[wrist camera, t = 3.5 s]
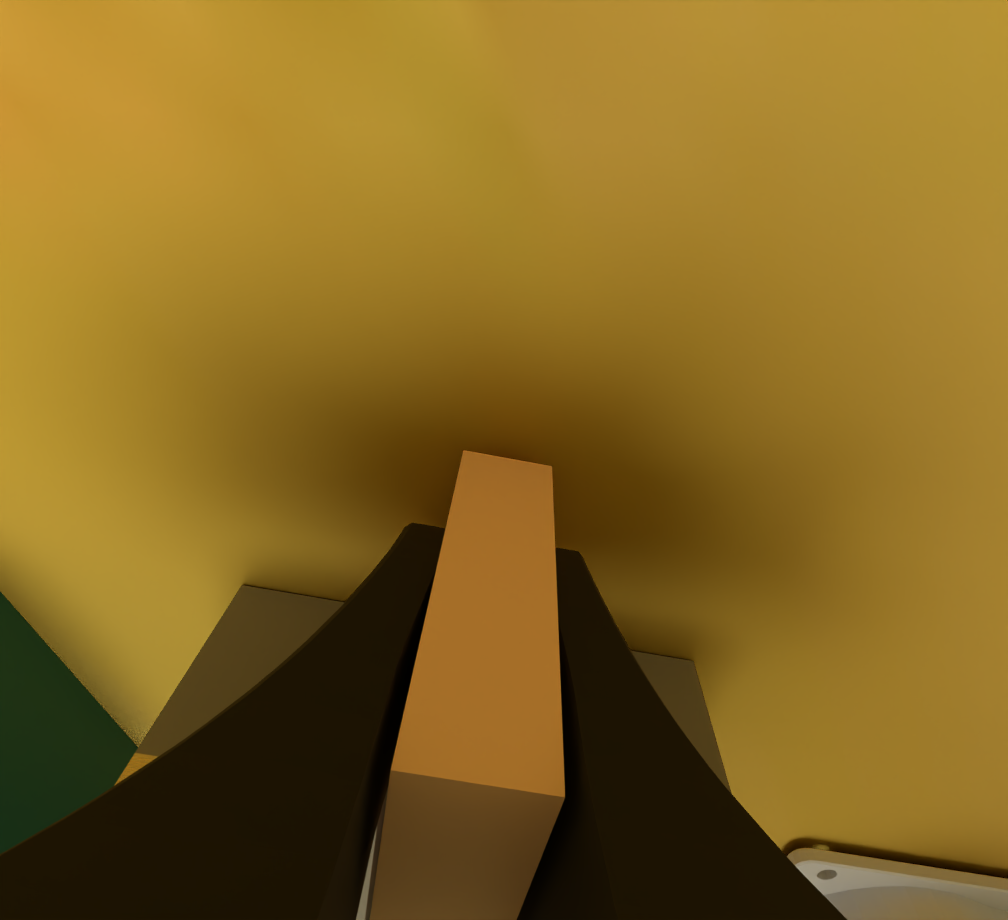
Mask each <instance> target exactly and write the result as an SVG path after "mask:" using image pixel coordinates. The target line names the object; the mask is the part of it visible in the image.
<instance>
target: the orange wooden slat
mask: <svg viewBox="0 0 1008 920" xmlns="http://www.w3.org/2000/svg"><path fill="white" fill-rule="evenodd" d="M564 799H565V781H564V756H563V731H562V706H561V680H560V655H559V630H558V604H557V579H556V554H555V528H554V503H553V478H552V466H548V465H543V464H537V463H532V462H526V461H521V460H515V459H510V458H504V457H499V456H493V455H488V454H482V453H477V452H471V451H466V450H463V454H462V459H461V463H460V467H459V472H458V476H457V481H456V485H455V489H454V494H453V498H452V503H451V507H450V511H449V516H448V520H447V525H446V529H445V533H444V538H443V542H442V547H441V551H440V555H439V560H438V564H437V569H436V573H435V577H434V582H433V586H432V591H431V595H430V599H429V604H428V608H427V613H426V617H425V621H424V626H423V630H422V634H421V639H420V643H419V648H418V652H417V656H416V661H415V665H414V670H413V674H412V678H411V683H410V687H409V692H408V696H407V700H406V705H405V709H404V714H403V718H402V722H401V727H400V731H399V736H398V740H397V744H396V749H395V753H394V758H393V762H392V766H391V771H390V778H389V786H388V793H387V800H386V807H385V814H384V821H383V828H382V836H381V843H380V850H379V857H378V864H377V871H376V878H375V886H374V893H373V900H372V907H371V914H370V920H517V918H518V915H519V912H520V910H521V907H522V905H523V902H524V900H525V897H526V895H527V892H528V890H529V887H530V885H531V882H532V880H533V877H534V875H535V872H536V870H537V867H538V865H539V862H540V859H541V857H542V854H543V852H544V849H545V847H546V844H547V842H548V839H549V837H550V834H551V832H552V829H553V827H554V824H555V822H556V819H557V817H558V814H559V812H560V809H561V807H562V804H563V801H564Z"/></svg>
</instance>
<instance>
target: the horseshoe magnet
mask: <svg viewBox="0 0 1008 920" xmlns="http://www.w3.org/2000/svg"><path fill="white" fill-rule="evenodd" d="M344 603H345V602H339V601H333V600H327V599H322V598H316V597H310V596H304V595H298V594H292V593H286V592H280V591H274V590H268V589H262V588H256V587H250V586H244V585H242V586H241V588H240V589H239V591H238V592H237V594H236V595H235V597H234V598H233V600H232V602H231V603H230V605H229V606H228V608H227V609H226V611H225V613H224V614H223V616H222V617H221V619H220V620H219V622H218V624H217V625H216V627H215V628H214V630H213V631H212V633H211V635H210V636H209V638H208V639H207V641H206V642H205V644H204V646H203V647H202V649H201V650H200V652H199V653H198V655H197V657H196V658H195V660H194V661H193V663H192V664H191V666H190V667H189V669H188V671H187V672H186V674H185V675H184V677H183V678H182V680H181V682H180V683H179V685H178V686H177V688H176V689H175V691H174V693H173V694H172V696H171V697H170V699H169V700H168V702H167V704H166V705H165V707H164V708H163V710H162V711H161V713H160V715H159V716H158V718H157V719H156V721H155V722H154V724H153V725H152V727H151V729H150V730H149V732H148V733H147V735H146V736H145V738H144V740H143V741H142V743H141V744H140V746H139V747H138V749H137V751H136V752H135V754H134V755H133V757H132V758H131V760H130V762H129V763H128V765H127V766H126V768H125V769H124V771H123V773H122V774H121V776H120V777H119V779H118V780H117V782H116V784H117V783H119V782H120V781H122V780H124V779H125V778H127V777H128V776H130V775H131V774H133V773H134V772H136V771H137V770H139V769H140V768H142V767H143V766H145V765H146V764H148V763H149V762H151V761H152V760H154V759H155V758H157V757H158V756H160V755H161V754H163V753H165V752H166V751H168V750H169V749H171V748H172V747H174V746H175V745H176V744H178V743H179V742H181V741H182V740H184V739H185V738H186V737H188V736H189V735H191V734H192V733H193V732H195V731H196V730H197V729H199V728H200V727H202V726H203V725H204V724H206V723H207V722H208V721H210V720H211V719H212V718H214V717H215V716H216V715H218V714H219V713H220V712H221V711H223V710H224V709H225V708H227V707H228V706H229V705H231V704H232V703H233V702H234V701H236V700H237V699H238V698H240V697H241V696H242V695H244V694H245V693H246V692H248V691H249V690H250V689H251V688H252V687H254V686H255V685H256V684H257V683H259V682H260V681H261V680H262V679H263V678H264V677H266V676H267V675H268V674H269V673H270V672H272V671H273V670H274V669H275V668H276V667H278V666H279V665H280V664H281V663H282V662H283V661H284V660H286V659H287V658H288V657H289V656H290V655H291V654H292V653H293V652H295V651H296V650H297V649H298V648H299V647H300V646H301V645H302V644H303V643H304V642H305V641H307V640H308V639H309V638H310V637H311V636H312V635H313V634H314V633H315V632H316V631H317V630H318V629H319V628H320V627H321V626H322V625H323V624H324V623H325V622H326V621H327V620H328V619H329V618H330V617H331V616H332V615H333V614H334V613H335V612H336V611H337V610H338V609H339V608H340V607H341V606H342V605H343V604H344ZM631 652H632V653H633V655H634V657H635V659H636V660H637V662H638V664H639V665H640V667H641V669H642V670H643V672H644V673H645V675H646V677H647V678H648V680H649V681H650V683H651V685H652V686H653V688H654V689H655V691H656V692H657V694H658V695H659V697H660V698H661V700H662V702H663V703H664V705H665V706H666V708H667V709H668V711H669V712H670V713H671V715H672V716H673V718H674V719H675V721H676V722H677V724H678V725H679V726H680V728H681V729H682V731H683V732H684V733H685V735H686V736H687V738H688V739H689V740H690V742H691V743H692V744H693V746H694V747H695V748H696V750H697V751H698V752H699V754H700V755H701V756H702V758H703V759H704V760H705V762H706V763H707V764H708V766H709V767H710V768H711V769H712V771H713V772H714V773H715V774H716V776H717V777H718V778H719V779H720V781H721V782H722V783H723V784H724V786H725V787H726V788H727V789H728V790H729V792H730V793H731V790H730V787H729V783H728V780H727V776H726V773H725V769H724V766H723V763H722V759H721V756H720V752H719V749H718V745H717V742H716V738H715V735H714V731H713V728H712V724H711V721H710V717H709V714H708V710H707V707H706V703H705V700H704V696H703V693H702V689H701V686H700V682H699V679H698V675H697V672H696V668H695V665H694V661H690V660H684V659H678V658H672V657H666V656H660V655H654V654H648V653H642V652H636V651H631ZM116 784H115V785H116ZM388 786H389V785H388ZM387 793H388V789H387V792H386V795H385V799H384V802H383V805H382V809H381V813H380V816H379V820H378V824H377V828H376V831H375V835H374V840H373V844H372V849H371V853H370V858H369V863H368V867H367V872H366V876H365V881H364V885H363V890H362V894H361V899H360V904H359V908H358V913H357V917H356V920H370V914H371V907H372V900H373V893H374V886H375V878H376V871H377V864H378V857H379V850H380V843H381V836H382V828H383V821H384V814H385V807H386V800H387Z"/></svg>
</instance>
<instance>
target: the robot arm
mask: <svg viewBox="0 0 1008 920" xmlns="http://www.w3.org/2000/svg"><path fill="white" fill-rule="evenodd" d="M444 533H445V528H440V527H434V526H428V525H422V524H417V523H411V524H409V525H408V526H406V527H405V528H404V529H403V531H402V533H401V534H400V536H399V537H398V539H397V540H396V542H395V543H394V544H393V546H392V547H391V549H390V550H389V551H388V553H387V554H386V555H385V556H384V558H383V559H382V560H381V561H380V563H379V564H378V565H377V566H376V568H375V569H374V570H373V571H372V572H371V574H370V575H369V576H368V577H367V578H366V579H365V580H364V581H363V583H362V584H361V585H360V586H359V587H358V588H357V589H356V590H355V592H354V593H353V594H352V595H351V596H350V597H349V598H348V599H347V601H346V602H345V603H344V604H343V605H342V606H341V607H340V608H339V609H338V610H337V611H336V612H335V613H334V614H333V615H332V616H331V617H330V618H329V619H328V620H327V621H326V622H325V623H324V624H323V625H322V626H321V627H320V628H319V629H318V630H317V631H316V632H315V633H314V634H313V635H312V636H311V637H310V638H309V639H308V640H307V641H305V642H304V643H303V644H302V645H301V646H300V647H299V648H298V649H297V650H296V651H295V652H293V653H292V654H291V655H290V656H289V657H288V658H287V659H286V660H284V661H283V662H282V663H281V664H280V665H279V666H278V667H276V668H275V669H274V670H273V671H272V672H270V673H269V674H268V675H267V676H266V677H264V678H263V679H262V680H261V681H260V682H259V683H257V684H256V685H255V686H254V687H252V688H251V689H250V690H249V691H248V692H246V693H245V694H244V695H242V696H241V697H240V698H238V699H237V700H236V701H234V702H233V703H232V704H231V705H229V706H228V707H227V708H225V709H224V710H223V711H221V712H220V713H219V714H218V715H216V716H215V717H214V718H212V719H211V720H210V721H208V722H207V723H206V724H204V725H203V726H202V727H200V728H199V729H197V730H196V731H195V732H193V733H192V734H191V735H189V736H188V737H186V738H185V739H184V740H182V741H181V742H179V743H178V744H176V745H175V746H174V747H172V748H171V749H169V750H168V751H166V752H165V753H163V754H161V755H160V756H158V757H157V758H155V759H154V760H152V761H151V762H149V763H148V764H146V765H145V766H143V767H142V768H140V769H139V770H137V771H136V772H134V773H133V774H131V775H130V776H128V777H127V778H125V779H124V780H122V781H120V782H119V783H117V784H116V785H114V786H113V787H111V788H110V789H108V790H107V791H105V792H104V793H102V794H101V795H99V796H98V797H96V798H95V799H93V800H91V801H90V802H88V803H86V804H85V805H83V806H82V807H80V808H78V809H77V810H75V811H73V812H72V813H70V814H69V815H67V816H65V817H63V818H62V819H60V820H58V821H56V822H55V823H53V824H51V825H50V826H48V827H46V828H44V829H43V830H41V831H39V832H37V833H36V834H34V835H32V836H31V837H29V838H27V839H25V840H24V841H22V842H20V843H18V844H17V845H15V846H13V847H12V848H10V849H8V850H6V851H5V852H3V853H1V854H0V920H356V917H357V913H358V908H359V904H360V899H361V894H362V890H363V885H364V881H365V876H366V872H367V867H368V863H369V858H370V853H371V849H372V844H373V840H374V835H375V831H376V828H377V824H378V820H379V816H380V813H381V809H382V805H383V802H384V799H385V795H386V792H387V789H388V785H389V778H390V771H391V766H392V762H393V758H394V753H395V749H396V744H397V740H398V736H399V731H400V727H401V722H402V718H403V714H404V709H405V705H406V700H407V696H408V692H409V687H410V683H411V678H412V674H413V670H414V665H415V661H416V656H417V652H418V648H419V643H420V639H421V634H422V630H423V626H424V621H425V617H426V613H427V608H428V604H429V599H430V595H431V591H432V586H433V582H434V577H435V573H436V569H437V564H438V560H439V555H440V551H441V547H442V542H443V538H444ZM555 554H556V579H557V604H558V630H559V655H560V680H561V706H562V731H563V756H564V781H565V799H564V801H563V804H562V807H561V809H560V812H559V814H558V817H557V819H556V822H555V824H554V827H553V829H552V832H551V834H550V837H549V839H548V842H547V844H546V847H545V849H544V852H543V854H542V857H541V859H540V862H539V865H538V867H537V870H536V872H535V875H534V877H533V880H532V882H531V885H530V887H529V890H528V892H527V895H526V897H525V900H524V902H523V905H522V907H521V910H520V912H519V915H518V918H517V920H1008V879H1007V878H1000V877H994V876H987V875H981V874H975V873H968V872H962V871H955V870H949V869H942V868H936V867H930V866H923V865H917V864H910V863H904V862H897V861H891V860H885V859H878V858H872V857H865V856H859V855H852V854H846V853H840V852H833V851H827V850H820V849H814V848H800V849H796V850H794V851H792V852H791V853H789V854H788V856H786V855H785V854H784V853H783V852H782V851H781V850H780V849H779V848H778V847H777V845H776V844H775V843H774V842H773V841H772V840H771V839H770V837H769V836H768V835H767V834H766V833H765V832H764V831H763V829H762V828H761V827H760V826H759V825H758V824H757V823H756V821H755V820H754V819H753V818H752V817H751V816H750V815H749V813H748V812H747V811H746V810H745V809H744V808H743V807H742V805H741V804H740V803H739V802H738V801H737V800H736V799H735V797H734V796H733V795H732V794H731V793H730V792H729V790H728V789H727V788H726V787H725V786H724V784H723V783H722V782H721V781H720V779H719V778H718V777H717V776H716V774H715V773H714V772H713V771H712V769H711V768H710V767H709V766H708V764H707V763H706V762H705V760H704V759H703V758H702V756H701V755H700V754H699V752H698V751H697V750H696V748H695V747H694V746H693V744H692V743H691V742H690V740H689V739H688V738H687V736H686V735H685V733H684V732H683V731H682V729H681V728H680V726H679V725H678V724H677V722H676V721H675V719H674V718H673V716H672V715H671V713H670V712H669V711H668V709H667V708H666V706H665V705H664V703H663V702H662V700H661V698H660V697H659V695H658V694H657V692H656V691H655V689H654V688H653V686H652V685H651V683H650V681H649V680H648V678H647V677H646V675H645V673H644V672H643V670H642V669H641V667H640V665H639V664H638V662H637V660H636V659H635V657H634V655H633V653H632V652H631V650H630V648H629V646H628V645H627V643H626V641H625V639H624V638H623V636H622V634H621V632H620V631H619V629H618V627H617V625H616V624H615V622H614V620H613V618H612V616H611V614H610V612H609V610H608V608H607V606H606V605H605V603H604V601H603V599H602V597H601V595H600V593H599V591H598V589H597V587H596V585H595V583H594V580H593V578H592V576H591V574H590V572H589V570H588V568H587V566H586V563H585V561H584V559H583V557H582V556H581V554H580V553H579V552H578V551H572V550H566V549H560V548H555Z"/></svg>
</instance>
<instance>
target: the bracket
mask: <svg viewBox="0 0 1008 920" xmlns="http://www.w3.org/2000/svg"><path fill="white" fill-rule="evenodd" d="M137 749H138V747H137V746H136V745H135V744H134V742H133V741H132V740H131V739H130V738H129V737H128V736H127V735H126V733H125V732H124V731H123V730H122V729H121V728H120V727H119V725H118V724H117V723H116V722H115V721H114V720H113V719H112V718H111V716H110V715H109V714H108V713H107V712H106V711H105V710H104V708H103V707H102V706H101V705H100V704H99V703H98V702H97V701H96V699H95V698H94V697H93V696H92V695H91V694H90V693H89V691H88V690H87V689H86V688H85V687H84V686H83V685H82V684H81V682H80V681H79V680H78V679H77V678H76V677H75V676H74V674H73V673H72V672H71V671H70V670H69V669H68V668H67V667H66V665H65V664H64V663H63V662H62V661H61V660H60V659H59V657H58V656H57V655H56V654H55V653H54V652H53V651H52V650H51V648H50V647H49V646H48V645H47V644H46V643H45V642H44V640H43V639H42V638H41V637H40V636H39V635H38V634H37V633H36V631H35V630H34V629H33V628H32V627H31V626H30V625H29V623H28V622H27V621H26V620H25V619H24V618H23V617H22V616H21V614H20V613H19V612H18V611H17V610H16V609H15V608H14V606H13V605H12V604H11V603H10V602H9V601H8V600H7V599H6V597H5V596H4V595H3V594H2V593H1V592H0V854H1V853H3V852H5V851H6V850H8V849H10V848H12V847H13V846H15V845H17V844H18V843H20V842H22V841H24V840H25V839H27V838H29V837H31V836H32V835H34V834H36V833H37V832H39V831H41V830H43V829H44V828H46V827H48V826H50V825H51V824H53V823H55V822H56V821H58V820H60V819H62V818H63V817H65V816H67V815H69V814H70V813H72V812H73V811H75V810H77V809H78V808H80V807H82V806H83V805H85V804H86V803H88V802H90V801H91V800H93V799H95V798H96V797H98V796H99V795H101V794H102V793H104V792H105V791H107V790H108V789H110V788H111V787H113V786H114V785H115V784H116V782H117V780H118V779H119V777H120V776H121V774H122V773H123V771H124V769H125V768H126V766H127V765H128V763H129V762H130V760H131V758H132V757H133V755H134V754H135V752H136V751H137Z"/></svg>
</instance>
